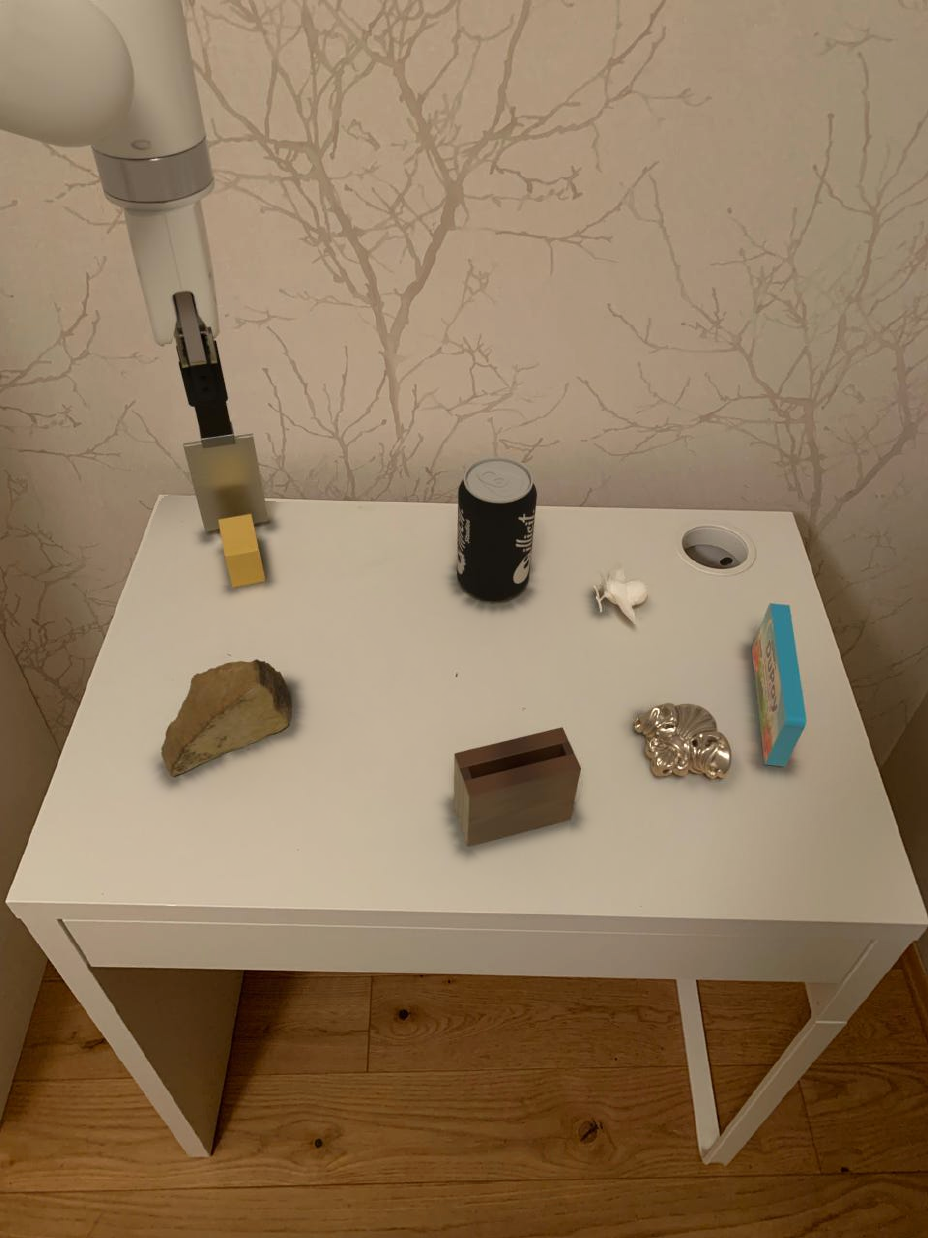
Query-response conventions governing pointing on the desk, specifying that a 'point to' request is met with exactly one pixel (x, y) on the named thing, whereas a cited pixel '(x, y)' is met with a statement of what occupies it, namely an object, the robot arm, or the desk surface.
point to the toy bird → (622, 591)
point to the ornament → (684, 741)
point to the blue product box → (778, 686)
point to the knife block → (515, 786)
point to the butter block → (241, 550)
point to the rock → (226, 713)
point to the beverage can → (495, 528)
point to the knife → (224, 469)
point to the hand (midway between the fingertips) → (207, 393)
